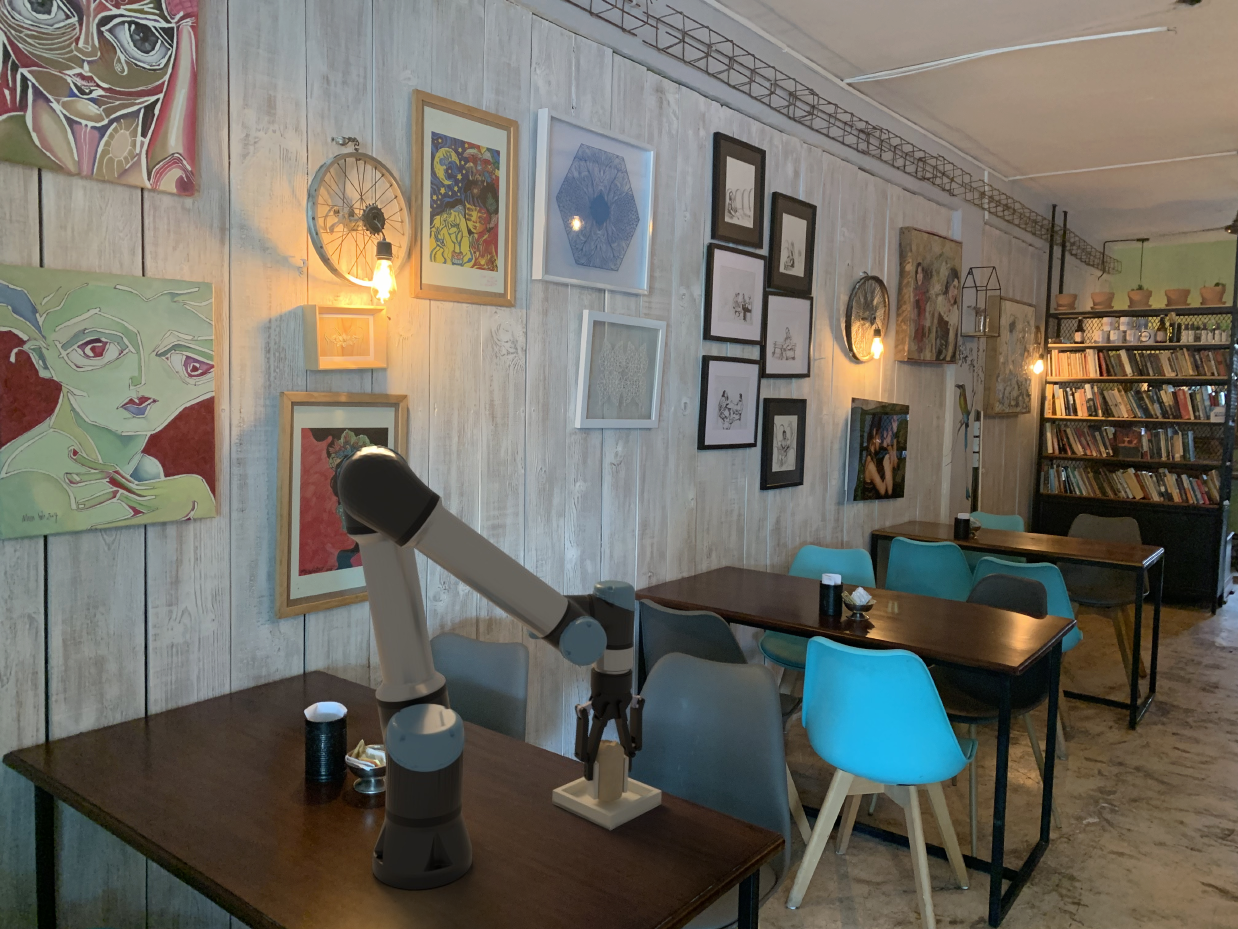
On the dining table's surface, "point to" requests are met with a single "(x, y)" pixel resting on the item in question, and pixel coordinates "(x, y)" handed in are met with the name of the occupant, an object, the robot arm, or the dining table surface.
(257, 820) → the dining table surface
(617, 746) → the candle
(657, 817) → the dining table surface
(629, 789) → the dish
